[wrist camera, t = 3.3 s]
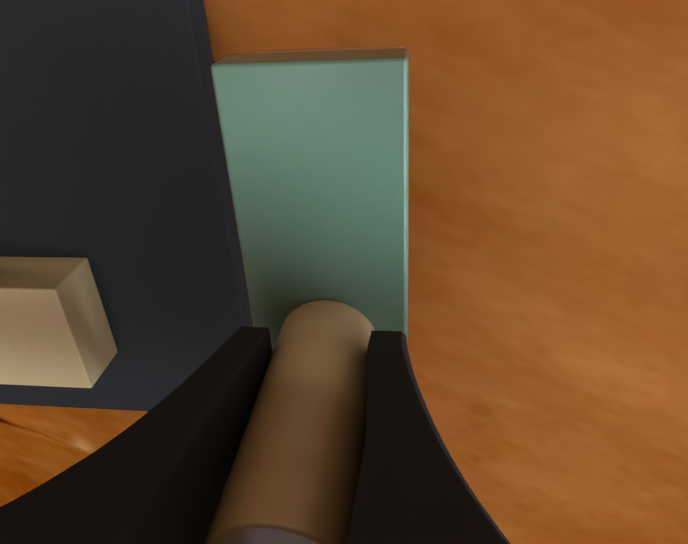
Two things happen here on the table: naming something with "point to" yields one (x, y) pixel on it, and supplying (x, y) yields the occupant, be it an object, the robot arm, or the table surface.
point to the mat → (122, 183)
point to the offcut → (52, 323)
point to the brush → (313, 272)
